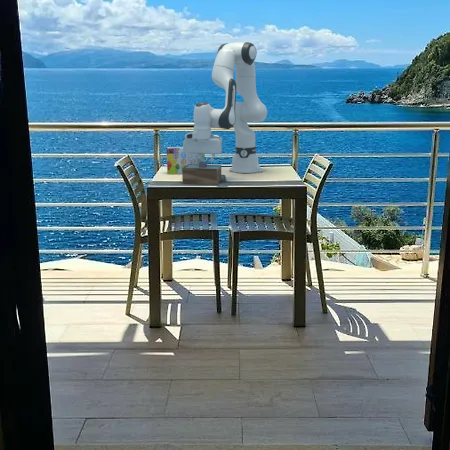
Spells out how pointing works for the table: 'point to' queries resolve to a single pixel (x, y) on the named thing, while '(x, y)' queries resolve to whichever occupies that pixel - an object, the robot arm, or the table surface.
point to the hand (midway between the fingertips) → (202, 161)
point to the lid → (203, 165)
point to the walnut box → (201, 175)
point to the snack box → (180, 159)
